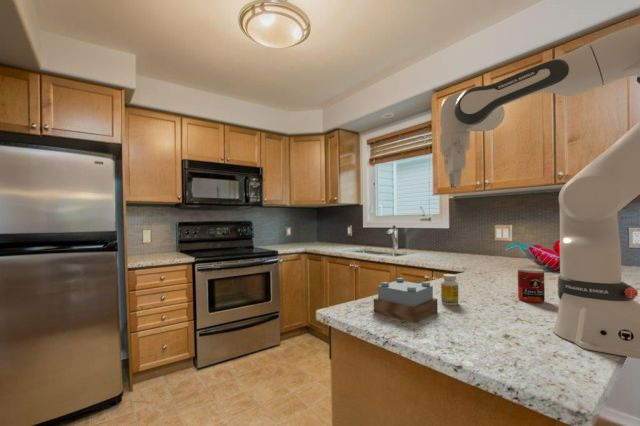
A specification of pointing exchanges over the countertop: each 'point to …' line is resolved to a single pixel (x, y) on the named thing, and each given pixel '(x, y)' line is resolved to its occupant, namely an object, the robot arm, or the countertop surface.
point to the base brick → (406, 309)
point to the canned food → (531, 285)
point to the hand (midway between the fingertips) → (454, 187)
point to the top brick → (405, 292)
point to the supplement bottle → (449, 290)
